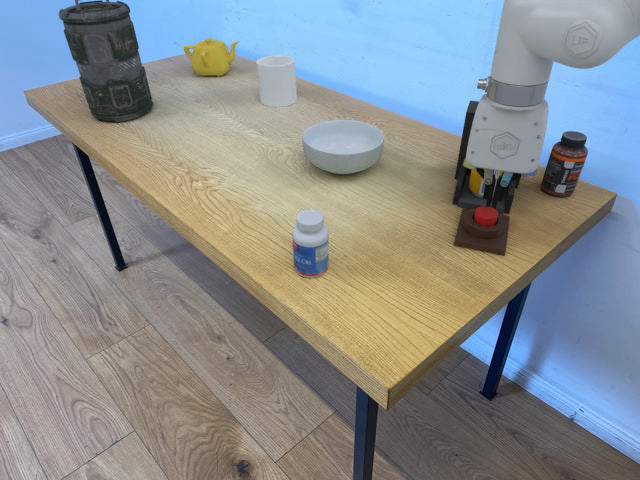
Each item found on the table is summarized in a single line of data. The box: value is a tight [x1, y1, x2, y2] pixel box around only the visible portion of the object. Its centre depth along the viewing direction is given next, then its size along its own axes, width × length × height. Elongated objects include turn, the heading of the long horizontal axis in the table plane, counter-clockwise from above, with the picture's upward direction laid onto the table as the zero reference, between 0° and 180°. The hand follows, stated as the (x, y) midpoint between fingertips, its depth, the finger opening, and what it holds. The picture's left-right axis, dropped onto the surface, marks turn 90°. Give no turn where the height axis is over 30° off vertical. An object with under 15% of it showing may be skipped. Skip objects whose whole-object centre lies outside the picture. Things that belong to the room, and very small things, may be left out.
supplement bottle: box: [540, 130, 589, 198], centre depth 87 cm, size 6×6×11 cm
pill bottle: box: [291, 208, 330, 279], centre depth 71 cm, size 6×5×10 cm
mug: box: [256, 54, 298, 108], centre depth 128 cm, size 14×10×11 cm
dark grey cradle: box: [452, 100, 522, 215], centre depth 87 cm, size 12×16×14 cm
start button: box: [474, 206, 498, 227], centre depth 78 cm, size 4×4×2 cm
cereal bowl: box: [301, 119, 385, 175], centre depth 98 cm, size 17×17×7 cm
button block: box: [453, 207, 511, 256], centre depth 79 cm, size 8×10×3 cm
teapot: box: [183, 37, 240, 77], centre depth 147 cm, size 14×13×10 cm
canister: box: [58, 0, 154, 123], centre depth 118 cm, size 16×16×28 cm
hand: (491, 202), depth 76 cm, fingers closed
